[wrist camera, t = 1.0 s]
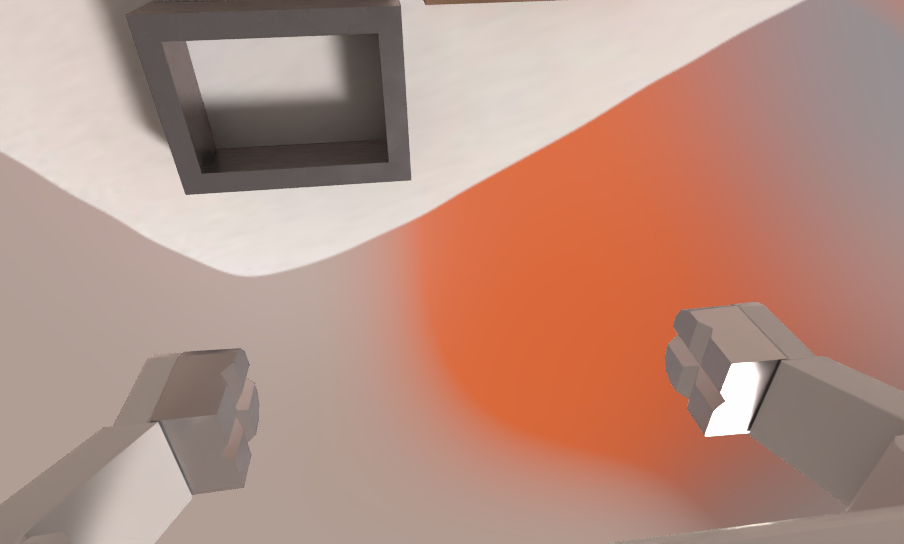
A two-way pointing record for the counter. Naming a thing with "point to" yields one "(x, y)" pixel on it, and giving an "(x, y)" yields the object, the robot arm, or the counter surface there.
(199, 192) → the grey open tray
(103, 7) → the counter surface
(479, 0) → the keeper
